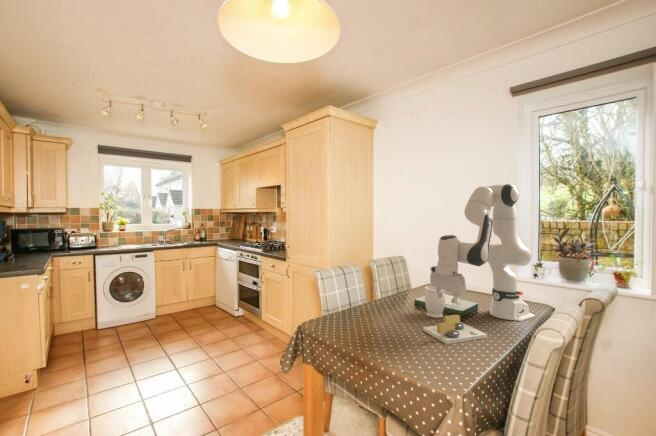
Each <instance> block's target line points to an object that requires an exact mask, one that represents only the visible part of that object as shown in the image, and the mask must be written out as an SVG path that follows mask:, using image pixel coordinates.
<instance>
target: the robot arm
mask: <svg viewBox="0 0 656 436" xmlns="http://www.w3.org/2000/svg"><path fill="white" fill-rule="evenodd" d="M518 189H519V188H518V187H516V185H514V184H510V183H509V184H493V185H487V186H478V187H476V188H475V189H474V190H473V192H472V194H471V195H470V196H469V199H468V201H467V202H466V205H465V207H464V216H465V218H466V220H467V221H469V222H470V223H471V224H473V225H475V226H478V227H479V229H478V235H477V239H476V241H475V242H473V243H471V242H464V241H463V242H462V241H460V240H459V239H458V236H457V235H453V234H450V235H448V234H447V235H443V236H440V237H439V241H438V244H437V256H438V260H437V265H433V266H431V267H430V283H429V284H430V286H434V287H436V291H437V293H438V297H439V298H442V297H443V294H441V289H442V290H445V291H444V292H447V293H452V295H453V297H452V298H451V303H453V304H457V303H458V299H459V297H460V296H465V295H466V293H467V285H466V279H465V276H463V274H462V273H459V272H458V271H459V263H462V264H468V265H471V266H475V267H481V266H483V265H485V264H486V263H488V265H489V267H490V268H491V272H492V281H493V283H492V284H493V286H492V289H491V292H492V293H491V294H492V297H491V302H490V308H489V310H488V311H489V315H491V316H492V317H495V318H498V319H502V320H509V321H516V322H523V321H525V320H530V319H533V318H535V314H533V313H531V312H530V306H529V305H528V303H526V302H525V301H524V300H523V299H521V297H520V296H523V294H524V292H523V291H522V290H521V291H520V290H518V276H517V275H516V273H515V272H513V271H512V270H511V268H510V266H514V267H518V266H519V267H522V266H524V267H525V266H527V265H529V263H530V262H531V260H532V253H531V251H530V248H528V247H526V246H525V244H524V243H523V242H522V240H521V238H520V236H519V232H518V227H517V210H516V205H515V204H516V203H517V202H518V200H519V197H520V194H519V193H520V192H519V190H518ZM492 207H493V208H492ZM492 209H493V210H492ZM491 210H492V216H491V215H490V213H491V212H490V211H491ZM492 232H493V234H494V235H495V236H497V237H498V238H499V240H500V241H501V243H500V242H491V237H492Z"/></svg>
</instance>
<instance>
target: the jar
mask: <svg viewBox="0 0 656 436" xmlns="http://www.w3.org/2000/svg"><path fill="white" fill-rule="evenodd" d="M424 290H425V293H424V303H425V309H426V316H428V317H430V318H434V319H440V318H442V317H443V316H444V315H443V312H444V309H445V304H446V295H445V292H446V291H445V290H442V289H441V294H443V297H442V298H439V297H438V293H437V291H436V287H434V286H432V285H428V286H425V287H424Z"/></svg>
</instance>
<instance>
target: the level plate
mask: <svg viewBox="0 0 656 436" xmlns="http://www.w3.org/2000/svg"><path fill="white" fill-rule="evenodd" d="M460 323H463V322H462V321H460ZM463 324H464V328H463V329H455V330H457V331H458V332H459V337H457V338H452V337H448V336H445V335H444V334H438V333H437V324H436V325H431V326H423V327H422V331H424V332H425V333H427V334H428V335H430V336H431V337H433V338H435V339H436V340H439V341H440V342H442V343H444V344H446V345H451V344H452V345H453V344H457V343H463V342H470V341H476V340H482V339H487V338H488V333H486V332H483V331H481V330H479V329H476V328H475V327H473V326H471V325H468V324H467V323H466V324H465V323H463Z"/></svg>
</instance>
